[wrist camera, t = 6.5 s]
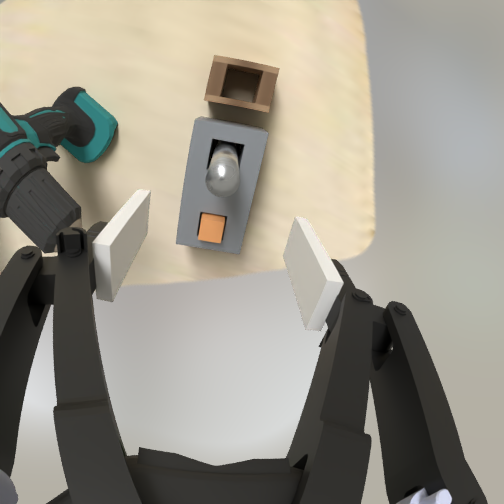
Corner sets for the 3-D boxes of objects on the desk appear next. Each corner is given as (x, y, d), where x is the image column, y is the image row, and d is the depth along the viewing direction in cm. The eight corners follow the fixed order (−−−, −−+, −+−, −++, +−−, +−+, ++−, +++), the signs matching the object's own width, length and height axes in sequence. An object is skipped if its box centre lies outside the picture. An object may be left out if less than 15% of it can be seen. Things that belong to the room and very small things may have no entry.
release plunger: (202, 216, 45) (197, 239, 38) (205, 198, 44) (201, 218, 37) (221, 219, 46) (220, 243, 39) (225, 201, 44) (224, 222, 37)
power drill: (168, 161, 41) (102, 236, 19) (132, 203, 44) (60, 303, 22) (57, 65, 31) (-60, 68, 9) (29, 110, 33) (-84, 145, 11)
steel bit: (213, 156, 41) (202, 194, 25) (217, 136, 40) (208, 161, 24) (234, 159, 42) (236, 199, 26) (238, 140, 40) (243, 167, 25)
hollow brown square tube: (207, 100, 37) (203, 100, 32) (216, 61, 34) (214, 55, 29) (263, 111, 38) (268, 112, 33) (272, 72, 35) (279, 68, 30)
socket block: (182, 223, 46) (175, 243, 40) (200, 116, 38) (195, 119, 32) (238, 232, 47) (239, 254, 41) (262, 128, 39) (268, 133, 33)
